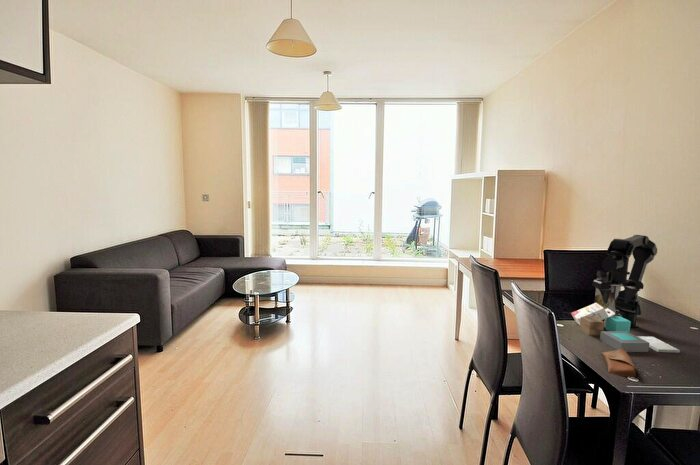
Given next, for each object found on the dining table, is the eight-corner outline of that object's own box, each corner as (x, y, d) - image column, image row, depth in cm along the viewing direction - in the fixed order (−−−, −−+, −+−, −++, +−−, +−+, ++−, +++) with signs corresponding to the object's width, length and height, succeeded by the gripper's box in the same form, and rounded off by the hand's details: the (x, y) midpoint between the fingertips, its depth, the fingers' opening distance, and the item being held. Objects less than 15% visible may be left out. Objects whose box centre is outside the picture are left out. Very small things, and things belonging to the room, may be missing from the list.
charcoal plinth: (625, 340, 150) (626, 331, 149) (648, 352, 139) (649, 342, 138) (599, 340, 149) (600, 331, 149) (620, 352, 138) (621, 342, 138)
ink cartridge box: (570, 312, 169) (602, 299, 166) (575, 321, 169) (607, 308, 166) (577, 318, 161) (611, 304, 157) (582, 328, 161) (616, 314, 157)
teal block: (618, 329, 161) (620, 316, 160) (629, 334, 155) (630, 321, 154) (605, 329, 161) (606, 316, 160) (615, 334, 155) (616, 321, 154)
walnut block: (592, 329, 160) (594, 316, 159) (602, 335, 154) (604, 321, 153) (579, 329, 160) (580, 316, 159) (588, 335, 154) (590, 321, 153)
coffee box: (618, 310, 186) (622, 280, 184) (613, 313, 182) (617, 281, 180) (598, 305, 193) (602, 276, 191) (593, 308, 189) (596, 277, 187)
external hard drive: (657, 353, 139) (633, 339, 151) (679, 353, 139) (653, 340, 151) (658, 349, 139) (634, 335, 151) (680, 349, 139) (654, 336, 151)
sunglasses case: (598, 351, 138) (610, 339, 136) (616, 364, 136) (629, 351, 134) (608, 373, 122) (622, 359, 120) (629, 387, 120) (644, 374, 118)
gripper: (625, 264, 164) (621, 297, 166) (585, 264, 163) (582, 297, 165) (646, 270, 153) (642, 305, 155) (603, 270, 152) (599, 306, 154)
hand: (615, 303), depth 157 cm, fingers open, 9 cm apart
